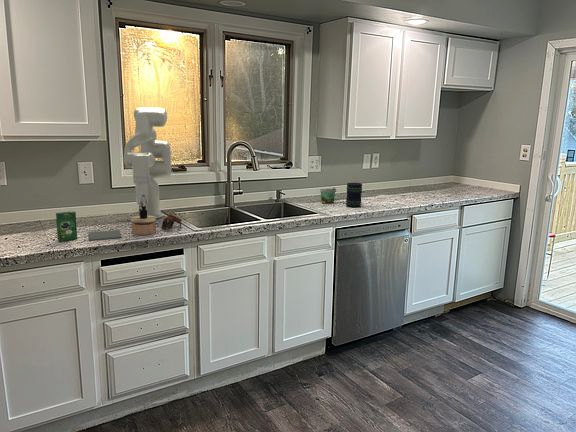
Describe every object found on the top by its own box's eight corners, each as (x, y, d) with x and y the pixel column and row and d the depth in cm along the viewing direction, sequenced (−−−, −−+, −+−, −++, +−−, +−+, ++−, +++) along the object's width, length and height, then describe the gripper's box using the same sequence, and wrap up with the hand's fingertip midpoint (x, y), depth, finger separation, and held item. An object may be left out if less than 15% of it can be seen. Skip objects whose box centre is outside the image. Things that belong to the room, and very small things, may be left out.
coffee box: (75, 237, 215) (73, 210, 212) (78, 238, 213) (75, 211, 210) (57, 240, 209) (54, 212, 206) (59, 242, 207) (57, 213, 204)
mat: (88, 233, 222) (88, 232, 222) (119, 230, 228) (119, 229, 228) (89, 240, 210) (89, 239, 210) (121, 238, 215) (121, 236, 215)
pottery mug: (160, 227, 238) (167, 213, 239) (177, 235, 240) (184, 220, 241) (159, 227, 227) (166, 212, 228) (176, 235, 228) (184, 220, 229)
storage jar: (343, 205, 301) (344, 183, 298) (355, 204, 305) (357, 182, 302) (350, 208, 292) (352, 185, 289) (364, 207, 296) (365, 184, 293)
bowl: (131, 230, 229) (130, 220, 228) (154, 228, 233) (153, 219, 232) (133, 236, 219) (133, 226, 218) (157, 234, 223) (156, 224, 222)
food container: (325, 205, 301) (326, 190, 299) (319, 203, 306) (320, 188, 304) (339, 203, 308) (340, 188, 306) (333, 201, 313) (334, 187, 311)
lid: (129, 218, 227) (128, 208, 226) (154, 216, 232) (153, 206, 231) (132, 224, 217) (131, 213, 216) (158, 222, 222) (157, 211, 221)
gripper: (131, 177, 226) (133, 214, 230) (135, 182, 211) (137, 221, 215) (147, 177, 229) (149, 213, 233) (151, 182, 214) (153, 220, 218)
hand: (143, 216), depth 224 cm, fingers closed on lid, 3 cm apart
